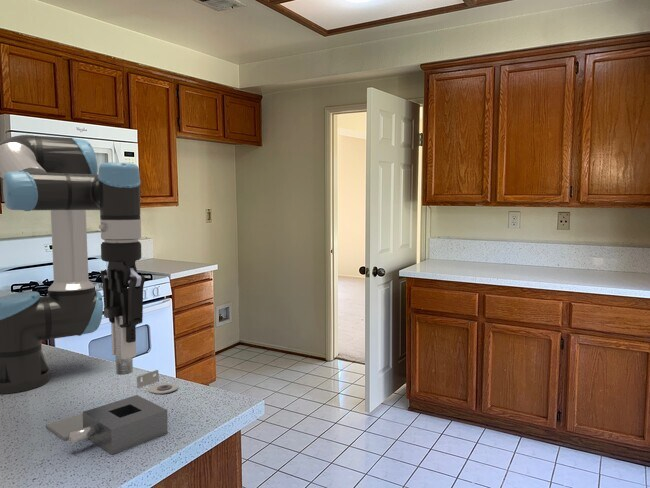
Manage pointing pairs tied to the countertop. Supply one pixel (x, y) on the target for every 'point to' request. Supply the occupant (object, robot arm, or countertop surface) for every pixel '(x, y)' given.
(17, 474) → the countertop surface
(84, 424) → the block
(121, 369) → the chuck key
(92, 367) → the countertop surface
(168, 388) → the bracket
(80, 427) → the mat
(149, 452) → the countertop surface
